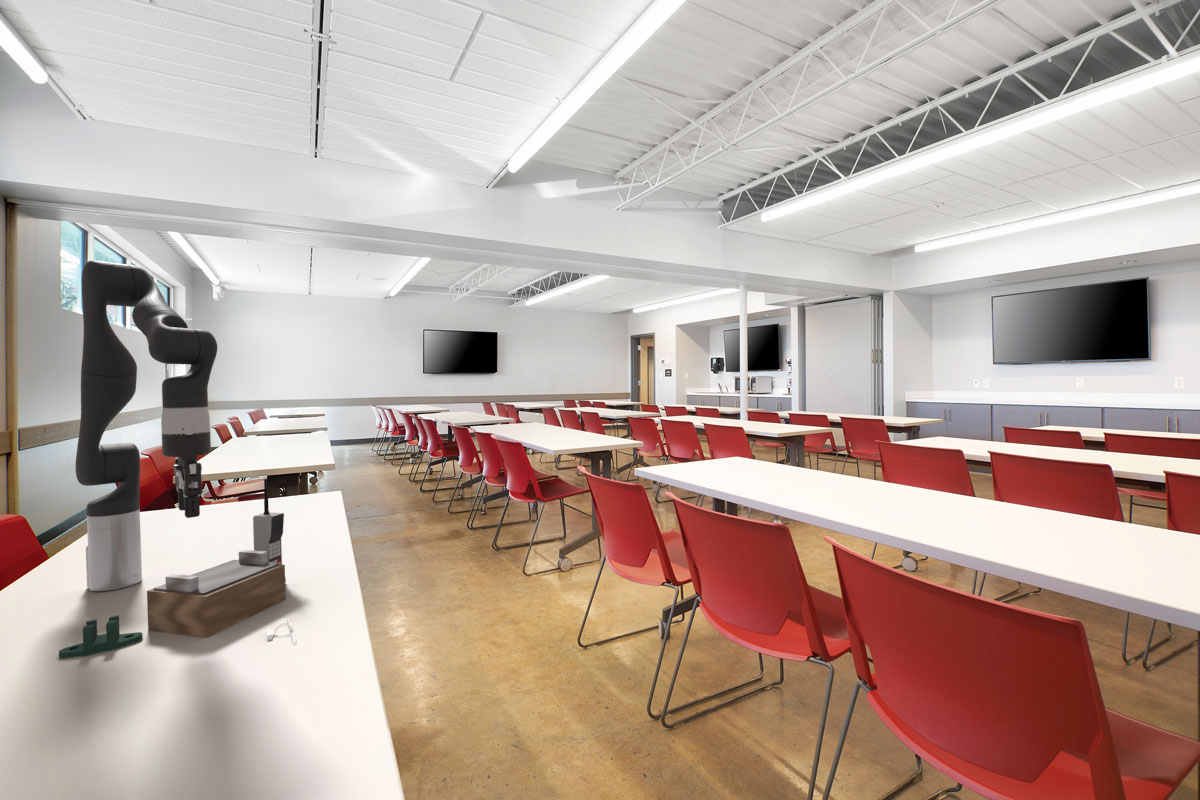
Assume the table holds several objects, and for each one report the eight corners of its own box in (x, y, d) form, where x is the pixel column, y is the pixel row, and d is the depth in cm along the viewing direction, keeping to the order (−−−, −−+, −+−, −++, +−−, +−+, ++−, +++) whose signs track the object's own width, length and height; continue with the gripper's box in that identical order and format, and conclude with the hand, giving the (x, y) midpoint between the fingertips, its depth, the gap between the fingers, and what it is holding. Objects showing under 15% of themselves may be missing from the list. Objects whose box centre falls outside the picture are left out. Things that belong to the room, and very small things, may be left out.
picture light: (297, 647, 95) (297, 635, 95) (269, 654, 92) (268, 642, 92) (290, 619, 106) (290, 609, 106) (264, 625, 104) (264, 615, 104)
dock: (148, 630, 101) (146, 576, 101) (233, 594, 119) (232, 548, 119) (206, 637, 98) (205, 581, 98) (285, 599, 116) (284, 551, 115)
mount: (56, 663, 90) (54, 634, 90) (62, 653, 94) (61, 625, 93) (141, 644, 96) (140, 617, 96) (143, 635, 100) (143, 609, 100)
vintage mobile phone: (273, 589, 122) (270, 480, 121) (254, 588, 123) (251, 479, 122) (286, 583, 125) (283, 477, 125) (268, 582, 126) (265, 477, 126)
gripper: (157, 430, 106) (160, 510, 107) (166, 434, 96) (169, 523, 97) (203, 427, 112) (206, 504, 112) (216, 431, 101) (219, 516, 102)
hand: (189, 513), depth 104 cm, fingers open, 8 cm apart
